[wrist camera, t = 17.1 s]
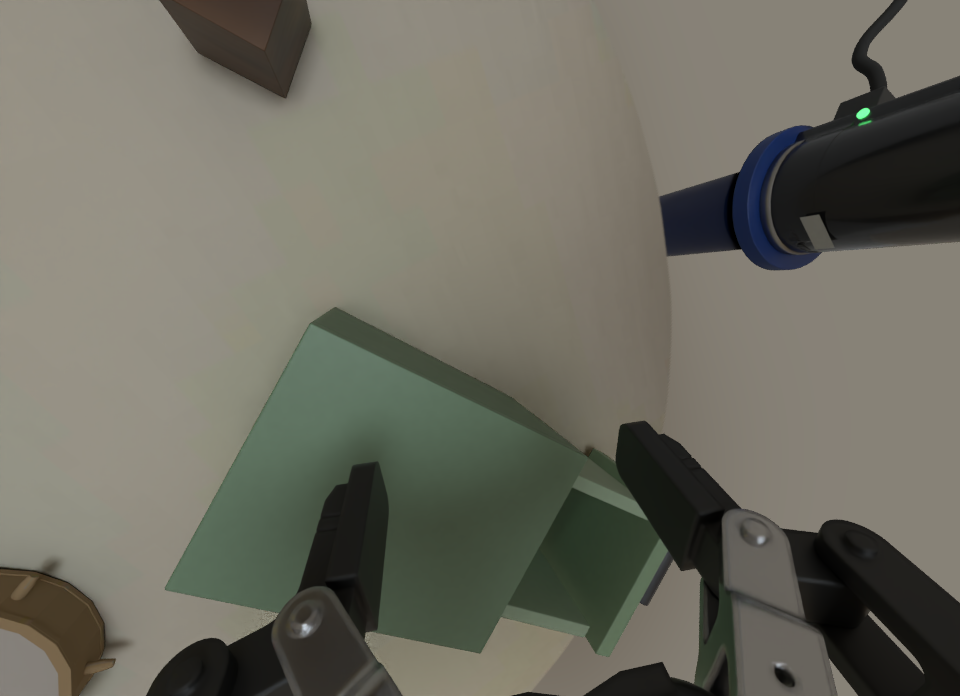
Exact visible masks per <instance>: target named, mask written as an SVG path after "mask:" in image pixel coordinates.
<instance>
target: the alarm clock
mask: <svg viewBox="0 0 960 696" xmlns="http://www.w3.org/2000/svg"><path fill="white" fill-rule="evenodd" d="M103 651H104V623H103V621H102V619H101V617H100V615H99V614H98V612H97V610H96V608H95V606H94V604H93V602H92V601H91V600H90V599H88V598H87V597H86V596H84V595H83V594H82V593H81V592H79V591H78V590H77V589H75V588H74V587H73V586H71V585H70V584H69V583H66V582H63V581H60V580H57V579H54V578H52V577H49V576H46V575H43V574H40V573H37V572H30V571H18V570H6V569H0V696H79V694H80V693H81V691H82V690H83V688H84V687H85V685H86V684H87V683H88V682H89V681H90V679H91V678H92V676H93V675H94V673H97V672H100V671H103V670H106V669H109V668H111V667H113V666H114V664H115V660H116V659H100V658H101V656H102V653H103Z"/></svg>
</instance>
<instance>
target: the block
mask: <svg viewBox="0 0 960 696" xmlns="http://www.w3.org/2000/svg"><path fill="white" fill-rule="evenodd" d="M160 2H161V3H162V4H163V6H164V7H165V8H166V10H167V11H168V13H169V14H170V15H171V17H172V18H173V19H174V21H175V22H176V23H177V25H178V26H179V28H180V29H181V30H182V32H183V33H184V34H185V36H186V37H187V38H188V40H189V41H190V43H191V44H192V45H193V47H194V48H195V49H196V51H197V52H198V53H200V54H202V55H204V56H206V57H208V58H209V59H211V60H213V61H215V62H217V63H219V64H221V65H223V66H225V67H227V68H229V69H230V70H232V71H234V72H236V73H238V74H240V75H242V76H244V77H246V78H248V79H250V80H251V81H253V82H255V83H257V84H259V85H261V86H263V87H265V88H267V89H269V90H271V91H272V92H274V93H276V94H278V95H280V96H282V97H284V98H286V96H287V93H288V90H289V87H290V84H291V81H292V78H293V75H294V72H295V70H296V67H297V64H298V61H299V58H300V55H301V52H302V49H303V47H304V44H305V41H306V38H307V35H308V32H309V29H310V26H311V19H310V15H309V10H308V5H307V1H306V0H160Z"/></svg>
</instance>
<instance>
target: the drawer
mask: <svg viewBox="0 0 960 696" xmlns="http://www.w3.org/2000/svg"><path fill="white" fill-rule="evenodd" d="M672 561H673V558H672V556H671V555H670V553H669V551H668V550H667V548H666V547H665V545H664V544H663V542H662V541H661V539H660V538H659V536H658V534H657V533H656V531H655V530H654V528H653V527H652V525H651V524H650V522H649V520H648V519H647V517H646V516H645V514H644V513H643V511H642V510H641V508H640V507H639V505H638V503H637V502H636V500H635V499H634V497H633V496H632V494H631V493H630V491H629V490H628V488H627V486H626V485H625V483H624V482H623V480H622V479H621V477H620V475H619V473H618V470H617V467H616V462H615V461H614V460H612V459H611V458H609V457H608V456H607V455H605V454H604V453H602V452H600V451H598V450H596V449H593V450H592V452H591V453H590V455H589V457H588V460H587V461H586V463H585V465H584V467H583V469H582V470H581V472H580V474H579V476H578V478H577V479H576V481H575V483H574V485H573V487H572V489H571V490H570V492H569V494H568V496H567V498H566V499H565V501H564V503H563V505H562V507H561V508H560V510H559V512H558V514H557V516H556V518H555V519H554V521H553V523H552V525H551V527H550V528H549V530H548V532H547V534H546V536H545V537H544V539H543V541H542V543H541V545H540V547H539V548H538V550H537V552H536V554H535V556H534V557H533V559H532V561H531V563H530V565H529V566H528V568H527V570H526V572H525V574H524V576H523V577H522V579H521V581H520V583H519V585H518V586H517V588H516V590H515V592H514V594H513V595H512V597H511V599H510V601H509V603H508V605H507V606H506V608H505V610H504V612H503V614H502V615H501V617H503V618H507V619H511V620H515V621H520V622H524V623H528V624H532V625H536V626H540V627H544V628H548V629H552V630H556V631H560V632H564V633H568V634H572V635H576V636H580V637H584V636H585V637H586V638H587V640H588V642H589V643H590V645H591V646H592V648H593V650H594V651H595V653H596V654H598V655H602V656H606V657H609V656H610V655H611V653H612V651H613V649H614V647H615V646H616V644H617V642H618V640H619V638H620V636H621V635H622V633H623V631H624V629H625V628H626V626H627V624H628V622H629V620H630V619H631V617H632V615H633V613H634V611H635V609H636V608H637V606H638V604H639V603H641V604H643V605H646V606H647V605H649V603H650V601H651V599H652V597H653V596H654V594H655V592H656V590H657V588H658V586H659V585H660V583H661V581H662V579H663V577H664V576H665V574H666V572H667V570H668V568H669V567H670V565H671V563H672Z"/></svg>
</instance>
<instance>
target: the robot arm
mask: <svg viewBox="0 0 960 696" xmlns="http://www.w3.org/2000/svg"><path fill="white" fill-rule="evenodd" d="M906 2H907V0H894V1H893V2H892V3H891V5H890V6H889V7H888V8H887V9H886V10H885V12H884V13H883V14H882V15H881V16H880V17H879V18H878V19H877V20H876V21H875V22H874V23H873V24H872V25H871V26H870V27H869V28H868V30H867V31H866V32H865V33H864V34H863V36H862V37H861V38H860V40H859V42H858V43H857V45H856V47H855V49H854V52H853V55H852V64H853V67H854V68H855V69H856V70H857V71H859V72H860V73H862V74H863V75H865V76H866V77H867V79H868V81H869V84H870V91H871V92H869V93H866V94H863V95H860V96H858V97H855V98H853V99H850V100H848V101H845V102H843V103H841V104H840V106H839V108H838V111H837V113H836V115H835V118H834V120H833V121H831V122H828V123H825V124H822V125H820V126H817V127H814V128H811V129H808V130H805V131H802V132H800V133H799V134H798V136H797V138H796V140H795V142H794V143H793V144H791V145H789V146H788V147H786V148H785V149H784V150H782V151H781V152H780V153H779V154H778V155H777V157H776V158H775V159H774V161H773V162H772V164H771V165H770V167H769V169H768V171H767V173H766V176H765V179H764V182H763V185H762V189H761V195H760V218H761V223H762V227H763V230H764V233H765V235H766V237H767V239H768V241H769V242H770V243H771V245H772V246H773V247H774V248H775V249H776V250H778V251H779V252H781V253H783V254H787V255H803V254H809V253H822V252H827V251H841V250H855V249H856V250H857V249H870V248H883V247H897V246H911V245H925V244H938V243H951V242H960V76H958V77H955V78H952V79H949V80H946V81H944V82H941V83H938V84H935V85H932V86H930V87H927V88H924V89H921V90H918V91H915V92H913V93H910V94H907V95H904V96H901V97H898V98H895V97H894V96H893V95H892V94H891V92H889V90H888V89H887V81H886V77H885V74H884V71H883V69H882V67H881V66H880V65H879V64H878V63H877V62H875V61H873V60H872V59H870V58H869V57H868V56H867V51H868V48H869V45H870V43H871V42H872V40H873V39H874V38H875V37H876V36H877V34H878V33H879V32H880V31H881V30H882V29H883V28H884V27H885V26H886V25H887V24H888V23H889V22H890V21H891V20H892V19H893V17H894V16H895V15H896V14H897V13H898V12H899V11H900V10H901V8H902V7H903V6H904V5H905V3H906ZM616 467H617V470H618V473H619V475H620V477H621V479H622V480H623V482H624V483H625V485H626V486H627V488H628V490H629V491H630V493H631V494H632V496H633V497H634V499H635V500H636V502H637V503H638V505H639V507H640V508H641V510H642V511H643V513H644V514H645V516H646V517H647V519H648V520H649V522H650V524H651V525H652V527H653V528H654V530H655V531H656V533H657V534H658V536H659V538H660V539H661V541H662V542H663V544H664V545H665V547H666V548H667V550H668V551H669V553H670V555H671V556H672V558H673V559H674V561H675V562H676V564H677V565H678V567H679V568H680V570H681V571H685V570H690V569H695V568H696V569H697V570H698V572H699V573H700V575H701V576H702V578H701V582H700V621H699V623H700V625H699V655H698V662H697V667H696V674H695V682H694V684H692V683H690V682H687V681H684V680H680V679H677V678H672V677H670V676H669V674H668V672H667V670H666V668H665V666H664V664H663V662H660V663H656V664H651V665H646V666H642V667H638V668H633V669H629V670H624V671H620V672H618V673H617V674H615V675H614V676H612V677H611V678H609V679H608V680H606V681H605V682H603V683H602V684H600V685H599V686H597V687H596V688H594V689H593V690H591V691H590V692H589V693H587V694H586V695H584V696H838V695H837V691H836V687H835V683H834V678H833V674H832V670H831V666H830V662H829V659H830V660H831V661H832V663H833V664H834V665H835V666H836V668H837V669H838V670H839V671H840V673H841V674H842V675H843V677H844V678H845V679H846V680H847V682H848V683H849V684H850V685H851V687H852V688H853V689H854V690H855V692H856V693H857V695H858V696H960V603H959V602H958V601H957V600H956V599H954V598H953V597H952V596H951V595H950V594H949V593H947V592H946V591H945V590H944V589H943V588H942V587H940V586H939V585H938V584H937V583H936V582H934V581H933V580H932V579H931V578H930V577H929V576H927V575H926V574H925V573H924V572H923V571H921V570H920V569H919V568H918V567H917V566H916V565H914V564H913V563H912V562H911V561H910V560H908V559H907V558H906V557H905V556H904V555H902V554H901V553H900V552H899V551H898V550H897V549H895V548H894V547H893V546H892V545H891V544H890V543H888V542H887V541H886V540H885V539H883V538H882V537H881V536H879V535H878V534H876V533H874V532H873V531H871V530H869V529H867V528H865V527H863V526H860V525H858V524H855V523H852V522H849V521H844V520H829V521H826V522H825V523H824V524H823V525H822V527H821V528H820V530H819V532H818V533H813V532H806V531H797V530H789V529H782V528H779V526H778V525H776V524H775V523H774V522H773V521H771V520H770V519H768V518H767V517H765V516H763V515H761V514H759V513H756V512H754V511H750V510H746V509H741V508H740V507H739V506H738V505H737V504H736V503H735V501H733V499H732V498H731V497H730V496H729V495H728V494H727V493H726V492H725V491H724V490H723V489H722V488H721V487H720V486H719V484H718V483H717V482H716V481H715V480H714V479H713V478H712V477H711V476H710V475H709V474H708V473H707V472H706V471H705V470H704V469H703V468H701V466H700V464H699V463H698V462H697V461H696V460H695V459H694V458H692V457H691V455H690V454H689V453H688V452H687V451H686V450H685V448H684V447H683V446H682V445H681V444H680V443H678V442H677V441H675V440H673V439H672V438H670V437H668V436H666V435H665V434H659V435H658V433H657V432H656V431H655V430H654V429H653V428H652V427H651V426H650V425H649V424H648V423H647V422H646V421H639V422H632V423H626V424H622V425H621V426H620V429H619V436H618V443H617V451H616ZM320 517H321V518H320V520H319V522H318V526H317V529H316V531H317V532H316V533H315V536H314V539H313V543H312V546H311V549H310V553H309V556H308V560H307V563H306V566H305V570H304V573H303V576H302V580H301V583H300V586H299V589H298V592H297V593H296V595H295V596H294V597H292V598H291V599H290V600H289V601H288V602H287V603H286V604H285V605H284V607H283V608H282V609H281V611H280V612H279V614H278V616H277V617H276V619H275V620H274V621H272V622H271V623H269V624H268V625H266V626H265V627H263V628H261V629H259V630H257V631H255V632H253V633H251V634H249V635H247V636H246V637H244V638H242V639H240V640H238V641H236V642H234V643H232V644H230V645H228V646H226V644H225V643H224V642H223V641H221V640H220V639H216V638H208V639H203V640H200V641H198V642H195V643H193V644H191V645H190V646H188V647H186V648H185V649H183V650H182V651H181V652H179V653H178V654H177V655H176V656H175V657H174V658H172V659H171V660H170V661H169V662H168V663H167V664H166V666H165V667H164V668H163V669H162V670H161V672H160V673H159V674H158V676H157V677H156V679H155V680H154V681H153V683H152V685H151V687H150V689H149V691H148V693H147V695H146V696H403V695H402V694H401V692H400V691H399V689H398V688H397V686H396V684H395V683H394V681H393V680H392V678H391V677H390V675H389V673H388V672H387V670H386V669H385V668H384V666H383V665H382V664H381V663H379V662H378V661H377V659H376V658H375V656H374V655H373V653H372V652H371V650H370V649H369V647H368V645H367V644H366V642H365V641H364V638H365V633H366V632H371V631H376V630H378V621H379V610H380V600H381V590H382V580H383V570H384V559H385V549H386V539H387V529H388V519H389V502H388V495H387V491H386V487H385V483H384V480H383V476H382V472H381V468H380V465H379V462H378V461H375V462H368V463H362V464H355V465H353V466H352V468H351V472H350V477H349V481H348V483H346V484H340V485H336V486H335V487H334V489H333V490H332V491H331V493H330V494H329V496H328V497H327V498H326V500H325V502H324V506H323V509H322V512H321V516H320ZM870 611H871V612H872V613H873V614H874V615H875V616H876V617H877V618H878V619H879V620H880V621H881V622H882V623H883V624H884V625H885V626H886V627H887V628H888V629H889V630H890V631H891V632H892V634H893V635H894V636H895V637H896V638H897V639H898V640H899V641H900V642H901V643H902V644H903V645H904V646H905V647H906V648H907V649H908V650H909V651H910V652H911V653H912V655H913V656H914V657H915V658H916V659H917V661H918V662H919V664H920V666H921V667H922V669H923V672H924V674H923V673H922V672H921V671H920V670H919V668H918V667H917V666H916V665H915V664H914V663H913V662H912V661H911V660H910V659H909V658H908V657H907V656H906V655H905V654H904V653H903V652H902V650H901V649H900V648H899V647H898V646H897V645H896V644H895V643H894V642H893V641H892V640H891V639H890V638H889V637H888V636H887V635H886V634H885V632H883V630H882V629H881V628H880V627H879V626H878V625H877V624H876V623H875V622H874V621H873V620H872V619H871V618H870V617H869V616H868V613H869V612H870ZM828 657H829V658H828ZM513 696H557V695H549V694H541V693H533V692H526V693H521V694H517V695H513Z"/></svg>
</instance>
